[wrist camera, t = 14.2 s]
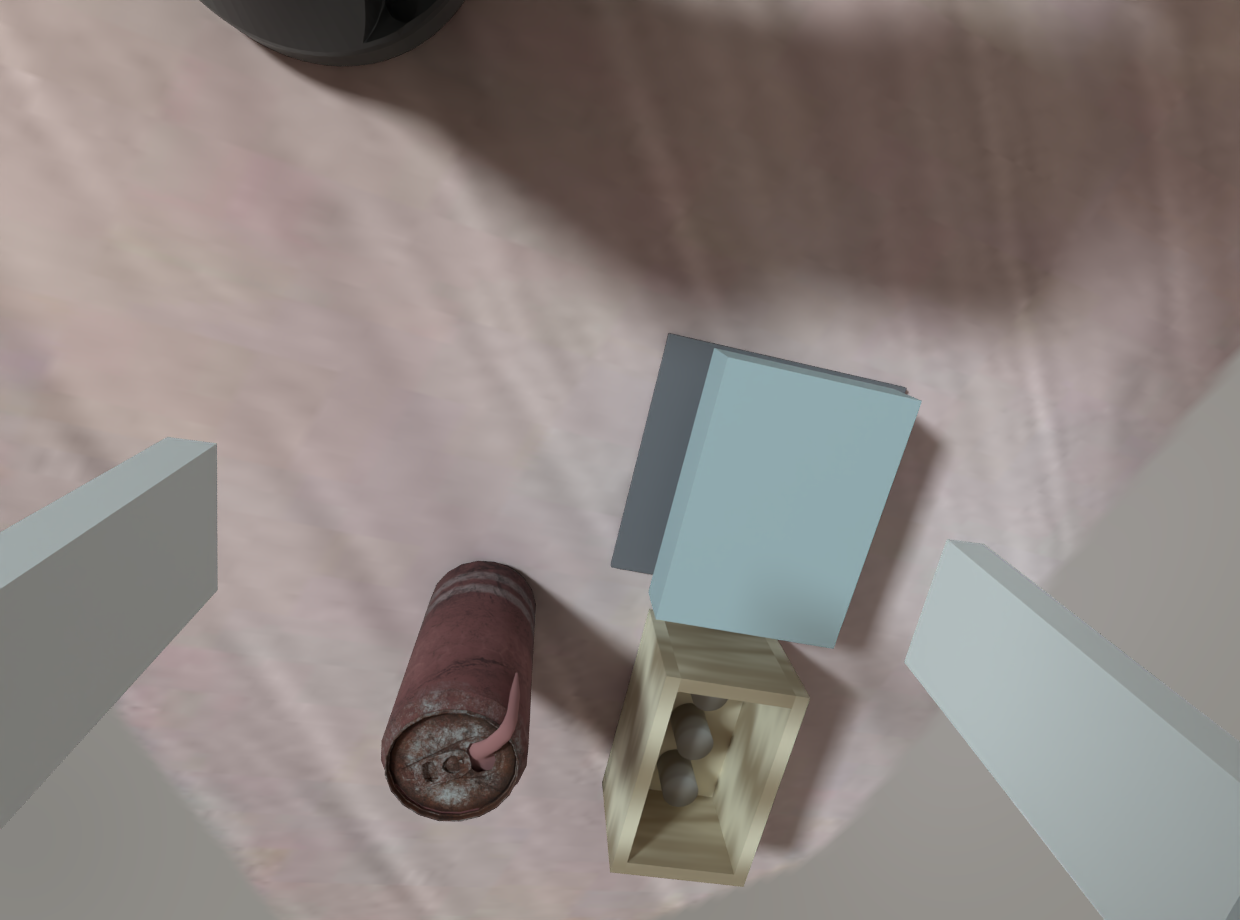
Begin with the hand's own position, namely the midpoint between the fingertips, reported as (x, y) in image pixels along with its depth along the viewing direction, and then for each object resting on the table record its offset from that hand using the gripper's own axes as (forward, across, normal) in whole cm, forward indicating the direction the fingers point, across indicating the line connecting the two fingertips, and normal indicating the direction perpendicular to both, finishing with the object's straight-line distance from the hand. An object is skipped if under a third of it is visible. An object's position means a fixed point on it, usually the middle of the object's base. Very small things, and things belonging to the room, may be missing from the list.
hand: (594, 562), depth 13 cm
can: (+26, -3, -17) cm, 31 cm away
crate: (+26, +11, -23) cm, 36 cm away
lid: (+24, +12, -6) cm, 27 cm away
